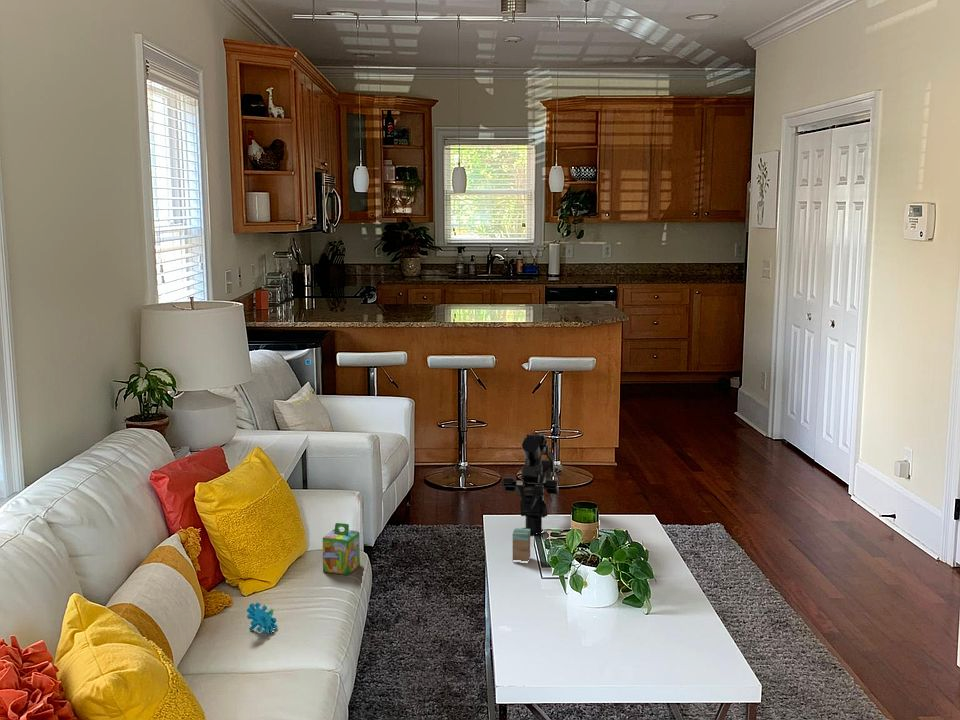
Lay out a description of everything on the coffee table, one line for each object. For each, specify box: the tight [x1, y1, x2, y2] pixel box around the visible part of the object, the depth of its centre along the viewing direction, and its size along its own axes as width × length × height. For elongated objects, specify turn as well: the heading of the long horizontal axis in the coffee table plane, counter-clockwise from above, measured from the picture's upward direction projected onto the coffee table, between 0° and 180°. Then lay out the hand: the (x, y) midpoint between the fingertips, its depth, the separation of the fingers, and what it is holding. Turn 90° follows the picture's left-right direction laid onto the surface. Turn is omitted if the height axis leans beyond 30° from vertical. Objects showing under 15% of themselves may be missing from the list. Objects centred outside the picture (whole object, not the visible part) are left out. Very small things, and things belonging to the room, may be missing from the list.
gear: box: [246, 602, 278, 636], centre depth 262 cm, size 11×6×10 cm
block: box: [512, 527, 531, 561], centre depth 309 cm, size 5×5×10 cm
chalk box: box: [322, 522, 361, 576], centre depth 303 cm, size 9×9×15 cm
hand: (527, 508), depth 319 cm, fingers open, 2 cm apart
